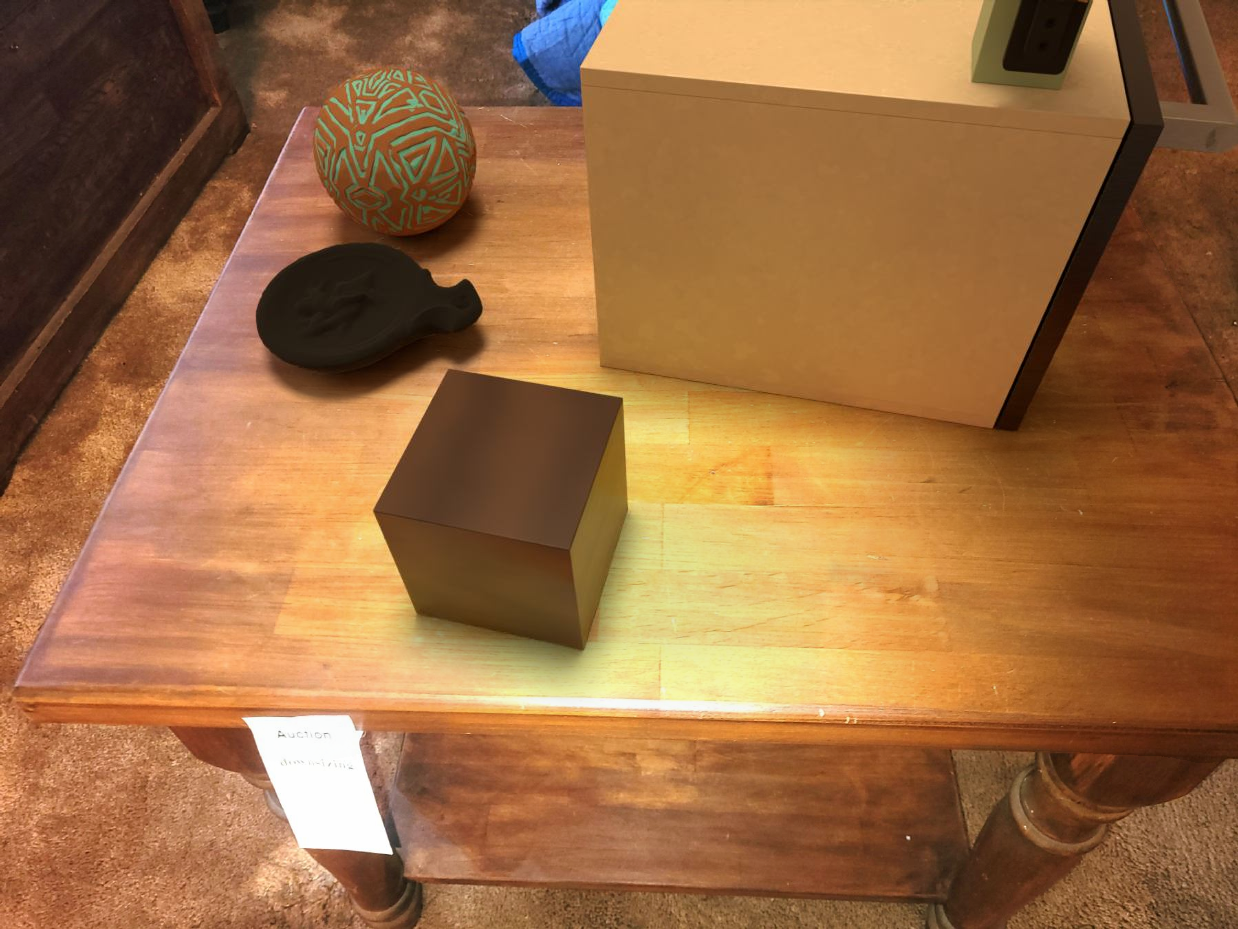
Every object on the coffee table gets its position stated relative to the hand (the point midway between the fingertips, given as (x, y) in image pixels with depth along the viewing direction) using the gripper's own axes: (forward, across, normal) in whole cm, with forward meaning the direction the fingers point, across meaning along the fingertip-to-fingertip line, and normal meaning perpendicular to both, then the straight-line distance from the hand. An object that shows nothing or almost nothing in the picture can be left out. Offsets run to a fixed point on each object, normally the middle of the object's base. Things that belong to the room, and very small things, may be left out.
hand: (1028, 29), depth 51 cm
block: (+2, 0, 0) cm, 2 cm away
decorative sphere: (+28, +11, +50) cm, 59 cm away
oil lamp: (+28, -6, +46) cm, 54 cm away
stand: (+28, -25, +26) cm, 46 cm away
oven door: (+28, +15, -10) cm, 33 cm away
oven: (+28, +15, +10) cm, 34 cm away
